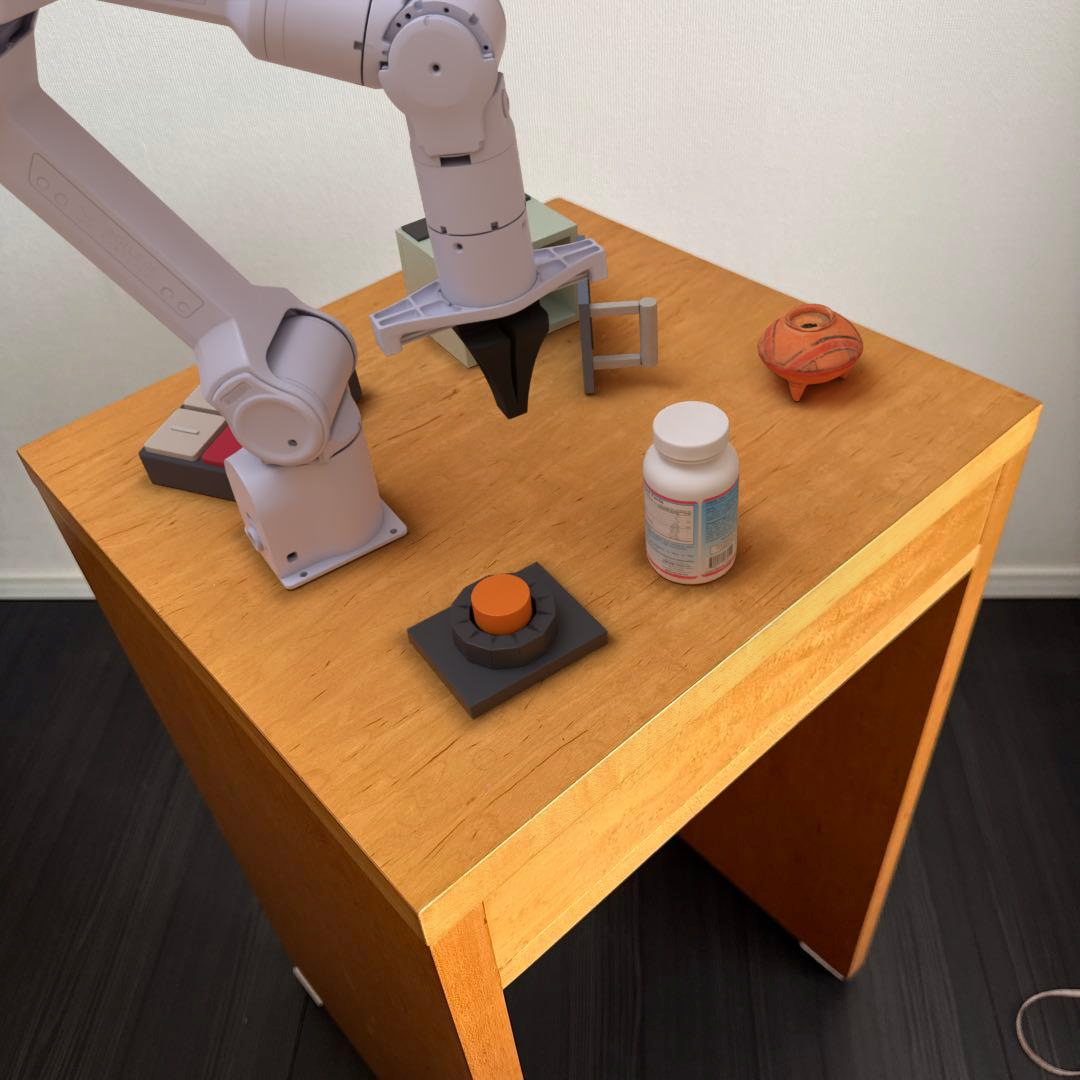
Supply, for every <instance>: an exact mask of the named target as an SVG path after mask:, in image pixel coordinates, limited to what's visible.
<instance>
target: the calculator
mask: <svg viewBox="0 0 1080 1080" xmlns="http://www.w3.org/2000/svg"><path fill="white" fill-rule="evenodd" d="M348 385H349V389H350V393H351V396H352V398H353V400H354V401H355V403H356V404H357V403H358V402H359V400H360V398H361V397H362V396H363V391H362V387H361V383H360V380H359V377H358V372H357V370H356V368H355V370H354V372H353V374H352V375H351V377H350V379H349V380H348ZM241 448H243V446H242V445H241V444H240V443H239V442H238V441H237V440H236V438H235V437H234V435H233V433H232V431H231V429H230V427H229V425H228V423H227V421H226V420H225V418H224V417H223V416H222V415H221V414H220V412H219V411H217V410H216V409H215V408H214V407H213V406H212V405H211V404H209V403H208V402H207V401H206V400H205V398H204V396H203V392H202V388H201V383H199V384H198V385H197V386H196V387H195V389H194V390H193V391H192V392H191V393H190V394H189V395H188V396H187V397H186V398H185V400H183V401H182V404H181V405H180V407H178V408H176V409H175V410H174V411H173V412H172V413H171V414H170V415H169V416H168V417H167V419H166V420H165V421H164V422H163V423H162V424H161V425H159V427H158V428H157V430H155V432H154V433H152V435H150V437H149V438H148V439H147V440H146V441H145V442H144V444H143V447H142V448H140V450H139V451H138V457H139V459H140V461H141V464H142V465H143V468H144V470H145V473H146V474H147V476H148V478H149V480H150V482H151V483H153V484H155V485H156V484H157V485H161V486H167V487H170V488H173V489H174V488H175V489H179V490H183V491H188V492H192V493H197V494H202V495H206V496H209V497H215V498H219V499H225V500H228V501H233V502H236V500H235V497H234V494H233V491H232V488H231V485H230V482H229V480H228V477H227V474H226V470H225V465H224V460H225V459H226V458H228V457H229V456H231V455H233V454H234V453H236V452H237V451H239V450H240V449H241Z"/></svg>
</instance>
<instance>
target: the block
mask: <svg viewBox="0 0 1080 1080" xmlns="http://www.w3.org/2000/svg"><path fill="white" fill-rule="evenodd" d="M498 574H499V573H498ZM498 574H497V573H496V574H495V575H498ZM504 574H509V575H514V576H517V577H519V578H521V579H522V580H523V581H524V582H525V583H526V584H527V585H528V587H529V590H530V597H531V605H532V616H531V619H530V621H529V622H528V624H527V625H526V626H525V627H523V628H522V629H521V630H519V631H517V632H515V633H512V634H508V635H493V634H490V633H487V632H485V631H483V630H482V629H481V628H480V627H479V626H478V625H477V624H476V622H475V618H474V612H473V607H472V601H471V595H472V592H473V589H474V588H475V586H476V585H477V584H478V583H479V582H481V581H482V580H484V579H485V578H487V577H490V576H493V575H494V574H489V575H486V576H483V577H482V578H480V579H478V580H476V581H473V582H472V583H470V584H468V585H466V586H465V587H463V589H461V591H460V593H459V594H458V595H457V597H456V598H455V599H454V600H453V602H452V603H451V605H450V606H449V607H447V608H445V609H443V610H441V611H439V612H437V613H435V614H433V615H431V616H429V617H427V618H425V619H423V620H421V621H420V622H417V623H416V624H414V625H412V626H410V627H408V628H406V633H407V637H408V641H409V643H410V644H411V646H413V647H414V649H415V650H416V651H417V653H418V654H419V655H420V657H421V658H422V659H423V661H425V662H426V664H427V665H428V666H429V668H430V669H431V670H432V671H433V672H434V674H435V675H436V676H437V678H438V679H439V680H440V681H441V683H442V684H443V685H444V686H445V687H446V688H447V690H448V691H449V693H451V695H452V696H453V697H454V699H455V700H456V701H457V703H458V704H459V705H460V706H461V707H462V709H463V710H465V712H466V714H467V715H469V717H470V718H471V719H472V720H475V719H476V718H479V717H480V716H482V715H484V714H486V713H487V712H489V711H491V710H492V709H495V708H496V707H498V706H499V705H501V704H503V703H505V702H507V701H508V700H510V699H512V698H514V697H515V696H517V695H519V694H521V693H522V692H525V691H526V690H528V689H530V688H532V687H533V686H535V685H537V684H538V683H540V682H542V681H544V680H545V679H547V678H549V677H550V676H553V675H555V674H556V673H558V672H560V671H562V670H563V669H565V668H567V667H569V666H571V665H573V664H574V663H576V662H577V661H579V660H581V659H583V658H584V657H586V656H588V655H589V654H591V653H593V652H595V651H597V650H599V649H601V648H602V647H604V646H606V645H607V644H609V638H608V637H609V635H608V630H607V629H606V628H605V627H604V626H603V625H602V624H601V623H600V622H599V621H598V620H597V619H596V618H595V617H594V616H593V615H592V614H591V613H590V612H589V611H588V609H586V608H585V607H584V606H583V605H582V604H581V603H580V602H579V601H578V600H577V599H576V598H575V597H574V596H573V595H572V594H571V593H569V592H568V590H566V589H565V588H564V587H563V585H561V584H560V582H558V580H557V579H555V577H553V575H552V574H550V573H549V572H548V571H547V570H546V569H545V568H544V567H543V566H542V565H541V564H540V562H538V561H535V562H534V563H531V564H529V565H528V566H525V567H524V568H521V569H520V570H518V571H516V572H506V573H505V572H504Z"/></svg>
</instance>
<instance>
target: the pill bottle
mask: <svg viewBox="0 0 1080 1080" xmlns="http://www.w3.org/2000/svg"><path fill="white" fill-rule="evenodd" d="M729 441H730V421H729V416H728V415H727V413H725V411H724V410H722V409H721V408H720V407H718V406H716V405H714V404H712V403H708V402H704V401H699V400H686V401H680V402H675V403H672V404H670V405H668V406H666V407H664V408H663V409H661V410H660V411H659V412H657V414H656V415H655V417H654V418H653V421H652V443H651V445H650V446H649V447H648V448H647V450H646V451H645V452H646V453H645V455H644V457H643V461H642V483H643V484H642V485H643V506H644V507H643V508H644V528H645V529H644V530H645V551H646V557H647V560H648V562H649V564H650V566H651V567H652V568H653V569H654V570H655V572H656V573H657V574H658V575H660V576H661V577H663V578H664V579H667V580H668V581H671V582H673V583H677V584H684V585H699V584H705V583H709V582H712V581H715V580H717V579H719V578H721V577H722V576H724V575H725V574H726V573H727V572H728V571H729V570H731V568H732V566H733V565H734V563H735V562H736V561H735V560H736V557H737V549H738V526H739V525H738V523H739V521H738V520H739V496H740V495H739V494H740V459H739V455H738V453H737V451H736V449H735V448H734V446H733V445H732V444H731V443H730V442H729Z"/></svg>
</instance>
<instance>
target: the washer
mask: <svg viewBox="0 0 1080 1080" xmlns="http://www.w3.org/2000/svg"><path fill="white" fill-rule="evenodd" d="M524 193H525V200H526V207H527V214H528V221H529V227H530V233H531V240H532V247H533V250H536V249H542V248H548V247H554V246H560V245H565V244H570V243H574V242H575V236H579V228H578V224H577V223H576V222H574V221H572V220H571V219H570V218H567V217H566V216H564V215H563V214H560V212H558V211H556V210H554V209H553V208H551V207H549V206H547V205H546V204H545V203H543V202H541V201H539V200H538V199H536V198H534V197H533V196H531V195H529V193H527V192H525V191H524ZM394 233H395V237H396V243H397V247H398V254H399V260H400V264H401V271H402V275H403V281H404V285H405V291H406V297H407V296H409V295H410V294H412V293H414V292H416V291H417V290H419V289H421V288H422V287H424V286H426V285H428V284H429V283H431V282H433V281H434V280H436V279H438V274H437V269H436V265H435V260H434V256H433V251H432V246H431V242H430V237H429V232H428V228H427V223H426V218H425V217H422V218H420V219H418V220H415V221H412V222H409V223H407V224H404V225H401V226H400V227H398V228H396V229H394ZM539 301H540V305H541V306H542V307H543V308H544V309H545V310H546V311H547V313H548V316H549V331H548V333H547V335H549V334H552V333H553V332H556V331H558V330H560V329H562V328H565V327H567V326H569V325H572V324H574V323H576V322H578V321H579V307H578V287H577V283H575V284H573V285H570V286H567V287H564V288H561V289H559V290H556V291H553V292H550V293H548V294H546V295H545V296H543V297H542V298H540V299H539ZM429 337H430V339H433V341H435V342H436V343H437V344H438V345H440V346H441V347H442V348H443V349H444V350H445V351H447V352H448V353H449V354H450V355H451V356H453V357H454V358H455V359H456V360H457V361H459V362H460V363H461V364H462V365H463V366H465V368H467V369H470V368H472V367H475V366H477V365H478V364H477V362H476V361H475V359H474V358H473V356H472V355H471V353H470V352H469V350H468V349H467V347H466V346H465V345H464V343H463V342H462V341H461V339H460V338H459V337H458V335H457V334H456V333H455V332H454V330H453V329H452V328H449V329H446V330H444V331H441V332H438V333H435V334H432V335H430V336H429Z"/></svg>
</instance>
